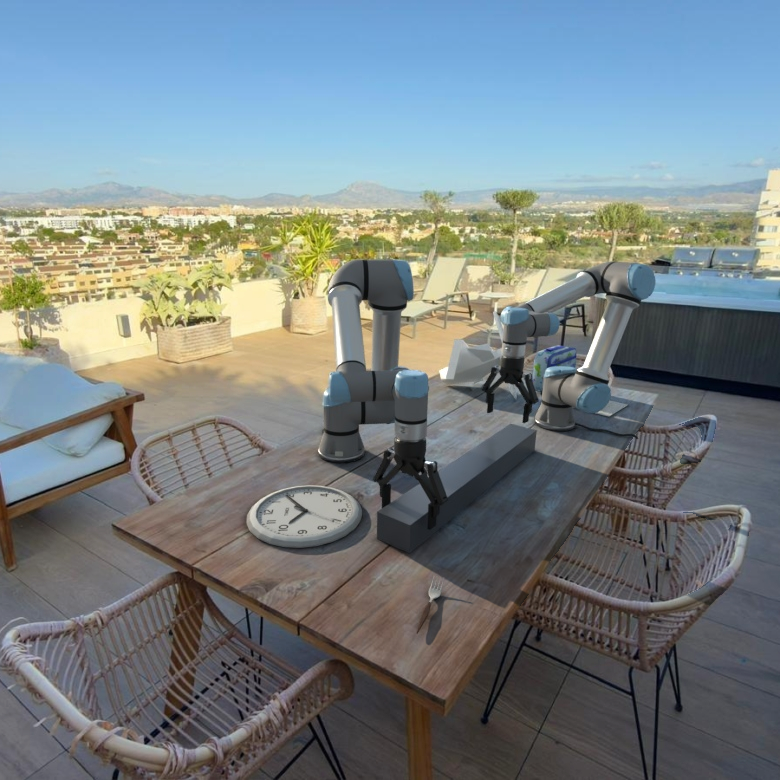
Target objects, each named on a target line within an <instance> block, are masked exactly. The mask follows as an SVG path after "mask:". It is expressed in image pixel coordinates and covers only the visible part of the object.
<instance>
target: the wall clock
mask: <svg viewBox="0 0 780 780" xmlns="http://www.w3.org/2000/svg"><path fill="white" fill-rule="evenodd" d="M362 516H363V509H362V507H361V504H360V503H359V501H358V500H357V499H356V498H355V497H354V496H352V495H350V494H349V493H348V492H346V491H344V490H341V489H338V488H335V487H330V486H325V485H311V484H310V485H309V484H307V485H296V486H290V487H287V488H286V487H285V488H282V489H280V490H276V491H274V492H271V493H268V494H267V495H266V496H264V497H262V498H260V499H259V500H257V502H255V504H253V505H252V506H251V507H250V509H249V511H248V513H247V514H246V526H247V528H248V531H249V532H250V534H252V535H253V536H254V537H255V538H256V539H258V540H260V541H262V542H265V543H267V544H269V545H272V546H277V547H282V548H294V549H295V548H297V549H301V548H302V549H304V548H312V547H318V546H322V545H327V544H330V543H333V542H336V541H338V540H340V539H343V538H344V537H346V536H348V535H349V534H351V533H352V532H353V531H354V530H355V529H357V527H358V525H360V522H361V521H362Z"/></svg>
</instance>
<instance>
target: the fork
mask: <svg viewBox="0 0 780 780" xmlns="http://www.w3.org/2000/svg"><path fill="white" fill-rule="evenodd" d="M438 577H439V576H438V575H437V576H436V579H435V574H433V578H432V580H431V584H430V587H429V589H428V596H429V598H430V599H429V601H428V603H427V604H426V605H425V607H424V609H423V610H422V613H421V616H420V620H419V624H418V625H417V630H416V634H417V635H418V634H419V632H420V630H421V628H422V626H423V625H424V623H425V622H426V620H427V618H428V616H429V613H430V610H431V606H432V603H433V600H435V599H437V598H439V597H441V595H442V591H443V586H444V581H445V578H443V579H442V576H440V577H439V581H438ZM434 580H435V582H434ZM441 580H442V582H441ZM437 582H438V584H437ZM440 584H441V585H440Z"/></svg>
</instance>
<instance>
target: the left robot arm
mask: <svg viewBox="0 0 780 780" xmlns="http://www.w3.org/2000/svg"><path fill="white" fill-rule="evenodd" d="M414 292H415V291H414V280H413V273H412V269H411V265H410V263H409V262H408V261H406V260H404V259H394V258H383V259H382V258H379V259H378V258H377V259H370V258H369V259H362V258H359V259H358V258H357V259H352V260H349V261H347V262H345V263H344V264H343V265H341V266H340V267H339V268H338V269H337V270H336V271H335V272H334V273H333V275H332V277H331V279H330V280H329V283H328V286H327V302H328V304H329V306H330V307H331V313H332V329H333V330H332V331H333V342H334V343H333V344H334V345H333V346H334V347H333V348H334V360H335V361H334V364H335V371H330V373H329V374H328V388H327V389H326V390H325V391H324V392H323V395H322V396H323V397H322V407H323V408H322V409H323V420H322V421H323V429H322V430H321V432H322V433H323V434H322V435H321V436H322V437H321V440H320V443H319V446H318V456H319V457H320V459H322V460H324V461H326V462H329V463H334V464H335V463H337V464H345V463H351V462H356V461H358V460H360V459H361V458H363V457H364V456H365V444H364V441H363V439H362V436H361V434H360V426H361V425H390V424H394V436H395V437H394V438H393V440H394V441H393V448H392V447H390V448H388V449H386V450H384V451H383V456H382V460H381V462H380V464H379V466H378V468H377V469H376V472H375V474H374V476H373V478H372V481H373V482H374V483H377V484H378V486H379V497H380V498H381V509H382V508H383V507H385V506H387V505H388V504H390V503H391V502H392V500H391V498H392V484H391V483H390V482H391V480H392V479H393V478H394V477H395V476H396V475H397V474H398V473H399V472H401V474H404V475H408V476H410V477H413V478H414V479H415V480H416V481H417V482H418V483H419V484H420V485H421V486H422V488H423V490H424V491H425V493H426V495H427V497H428V498H429V500H430V502H431V503H429V504H428V526H427V529H429V530H431V529H432V528H433V527H435V526H436V518H437V516H438V515H439V514H440V505H443V504H444V503H445V502H447V501H448V498H447V495H446V492H445V489H444V487H443V484H442V481H441V478H440V476H439V473H438V471H439V470H438V469H439V468H438V462H437V461H436V460H433V461H427V460H426V453H427V438H426V437H427V435H428V409H429V408H428V405H429V404H428V403H429V391H430V386H429V375H428V374H427V373H426V372H425V371H422V370H418V369H410V368H408V367H405V366H401V365H399V362H400V361H399V359H400V342H401V328H402V327H401V326H402V325H401V324H402V312H403V311H404V310H405V309H406V308H407V307H408V302H410V301H413V299H414V295H415V294H414ZM362 301H367V306H368V307H369V309H371V310H372V332H371V359H370V360H371V361H370V362H371V363H370V365H371V367H370V370H367V364H366V355H365V345H364V336H363V327H362V325H363V324H362V317H361V308H360V305H361V303H362ZM393 459H394V462H395V463H396V464H395V465H394V466H392V468H391V470H390V471H389V472H388V473H386V472H387V470H388V468H389V467H390V464H391V463H392V461H393ZM420 473H421V474H420ZM385 474H386V475H385Z"/></svg>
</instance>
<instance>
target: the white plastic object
mask: <svg viewBox="0 0 780 780" xmlns="http://www.w3.org/2000/svg"><path fill="white" fill-rule="evenodd" d="M492 315H493V319H494V321H495V324H496V325H495V326H496V328H497V332H498V335H499V338H500V342H501V343H502V342H503V328H504V326H503V324H502V322H501V317H500V315H499V314H498V312H497V311H496V310H495V311H492ZM501 356H502V347H500V348H498V349H496V350H495V349H493V348H492V347H491V346H490V344H489V343H488V342H487V343H483V344H479V345H473V346H469V345H468V343H466V342H465V340H464V339H463V338H460V339H458V338H454V340H453V344H452V349H451V353H450V357H449V362H448V366H446V367H444V368H442V369H440V370H439V371H438V372H439V376H440V381H442V383H443V384H444V385H445V386H449V385H458V384H467V383H468V384H469V383H473V384H477V383H480V382H482V381H484V378H485V377H486V376H487V375H490V374H491V369H492V367H495V366H498V368H500V367H501V366H500V364H501ZM522 381H523V382H524V386H525V387H526V389H527V386H526V383H525V380H524V378H522ZM506 384H507V386H508V390H509V393H510V394H511V395H512V397H513V398H514V399H515V400H517V392H516V391H517V390H516V388H515V384H514V385H512V384H510V383H506ZM527 391H528V389H527Z"/></svg>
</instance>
